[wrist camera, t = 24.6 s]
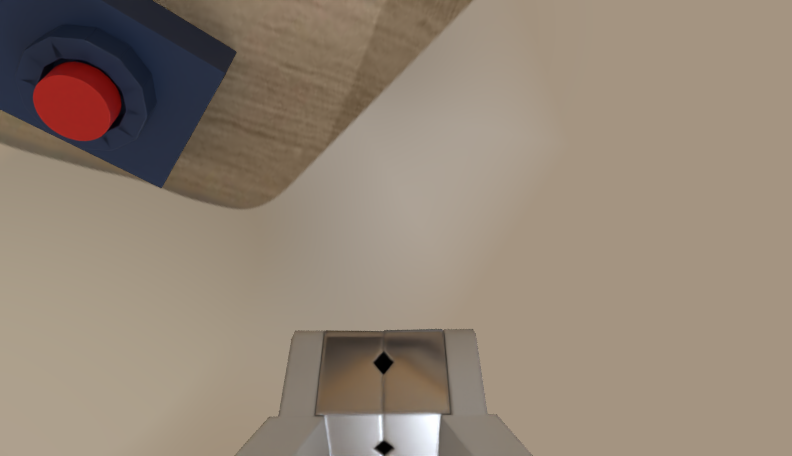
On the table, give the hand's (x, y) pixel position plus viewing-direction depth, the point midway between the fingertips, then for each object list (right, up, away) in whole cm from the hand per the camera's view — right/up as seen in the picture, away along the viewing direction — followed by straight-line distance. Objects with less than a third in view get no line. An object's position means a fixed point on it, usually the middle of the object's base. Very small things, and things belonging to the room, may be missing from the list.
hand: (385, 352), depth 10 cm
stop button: (-17, +10, +24) cm, 31 cm away
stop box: (-17, +13, +27) cm, 35 cm away
